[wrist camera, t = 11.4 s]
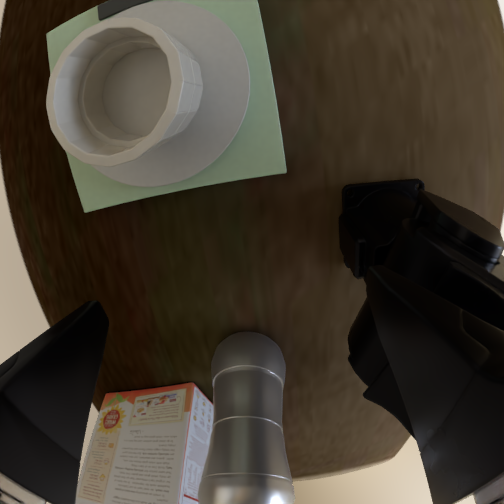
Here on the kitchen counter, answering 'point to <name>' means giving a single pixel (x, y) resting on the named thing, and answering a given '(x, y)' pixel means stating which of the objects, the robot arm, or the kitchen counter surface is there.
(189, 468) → the cracker box
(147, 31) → the bowl
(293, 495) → the silver metal bottle
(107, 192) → the scale
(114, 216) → the kitchen counter surface
